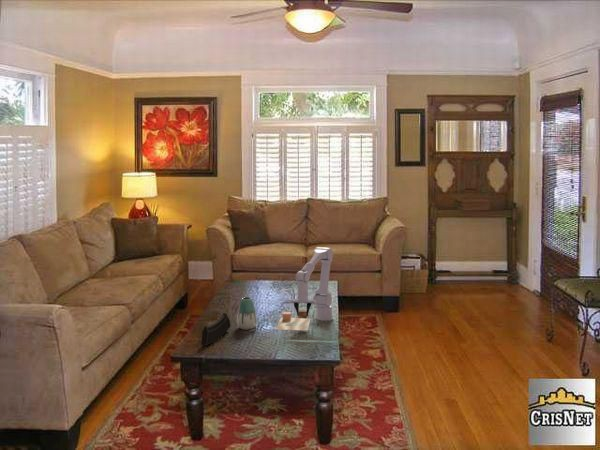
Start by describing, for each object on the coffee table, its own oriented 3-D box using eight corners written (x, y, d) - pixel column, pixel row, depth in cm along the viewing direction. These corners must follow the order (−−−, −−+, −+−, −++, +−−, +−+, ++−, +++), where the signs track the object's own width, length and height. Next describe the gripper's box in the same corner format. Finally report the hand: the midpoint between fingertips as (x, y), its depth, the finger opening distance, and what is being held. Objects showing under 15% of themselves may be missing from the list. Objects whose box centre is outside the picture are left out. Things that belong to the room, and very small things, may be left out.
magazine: (204, 332, 313) (227, 302, 339) (198, 331, 314) (221, 301, 340) (209, 359, 320) (231, 328, 346) (203, 359, 321) (225, 327, 347)
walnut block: (307, 316, 348) (307, 309, 347) (306, 318, 343) (306, 311, 343) (299, 315, 348) (299, 309, 348) (298, 318, 344) (298, 311, 343)
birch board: (310, 319, 366) (310, 318, 366) (307, 332, 343) (307, 330, 342) (281, 319, 368) (281, 317, 368) (275, 331, 344) (275, 329, 344)
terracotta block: (291, 318, 366) (291, 312, 365) (290, 320, 361) (290, 314, 361) (283, 318, 366) (283, 311, 366) (282, 320, 362) (282, 313, 361)
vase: (254, 331, 343) (253, 300, 341) (234, 330, 346) (233, 299, 343) (259, 325, 355) (259, 295, 352) (240, 324, 357) (239, 294, 354)
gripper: (289, 293, 341) (289, 317, 343) (314, 294, 339) (314, 318, 341) (290, 290, 348) (290, 313, 350) (315, 291, 346) (315, 314, 348)
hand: (302, 315), depth 346 cm, fingers closed on walnut block, 5 cm apart
